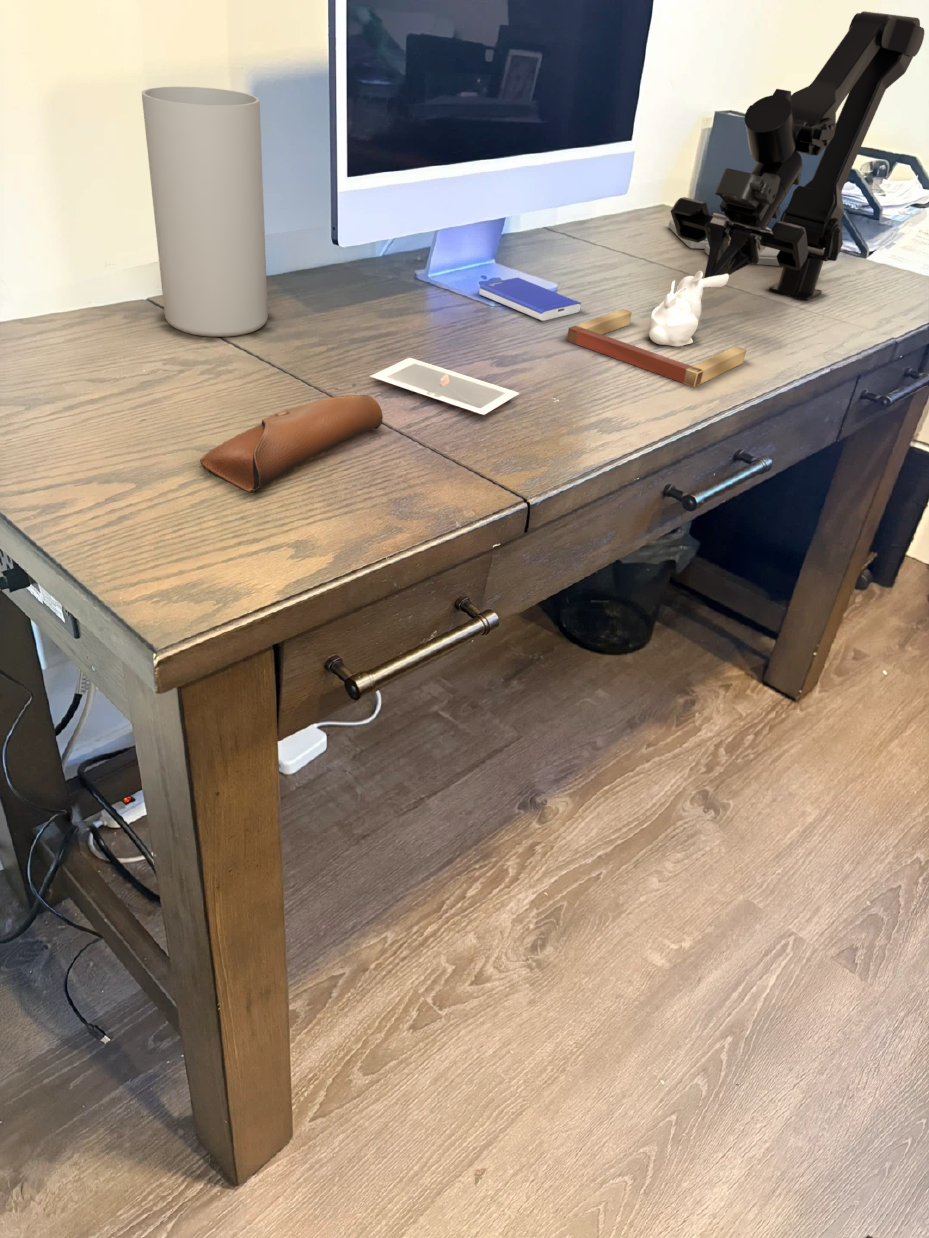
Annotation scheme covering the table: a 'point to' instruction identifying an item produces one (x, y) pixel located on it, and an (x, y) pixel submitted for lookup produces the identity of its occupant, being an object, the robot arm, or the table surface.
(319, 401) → the sunglasses case
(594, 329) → the bay
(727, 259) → the robot arm
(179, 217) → the cylinder vase
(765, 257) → the office telephone
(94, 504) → the table surface
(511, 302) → the hard drive
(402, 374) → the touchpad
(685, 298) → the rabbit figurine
